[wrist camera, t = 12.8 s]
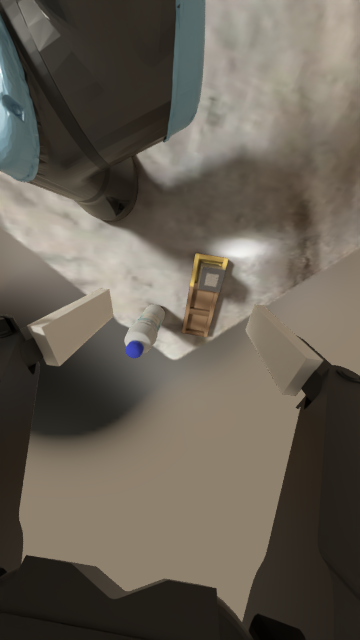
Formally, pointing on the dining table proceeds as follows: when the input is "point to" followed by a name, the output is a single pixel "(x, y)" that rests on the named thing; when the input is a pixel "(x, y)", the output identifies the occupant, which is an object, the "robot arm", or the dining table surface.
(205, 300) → the wooden compartment tray
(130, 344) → the bottle
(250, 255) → the dining table surface
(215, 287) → the block
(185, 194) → the dining table surface
